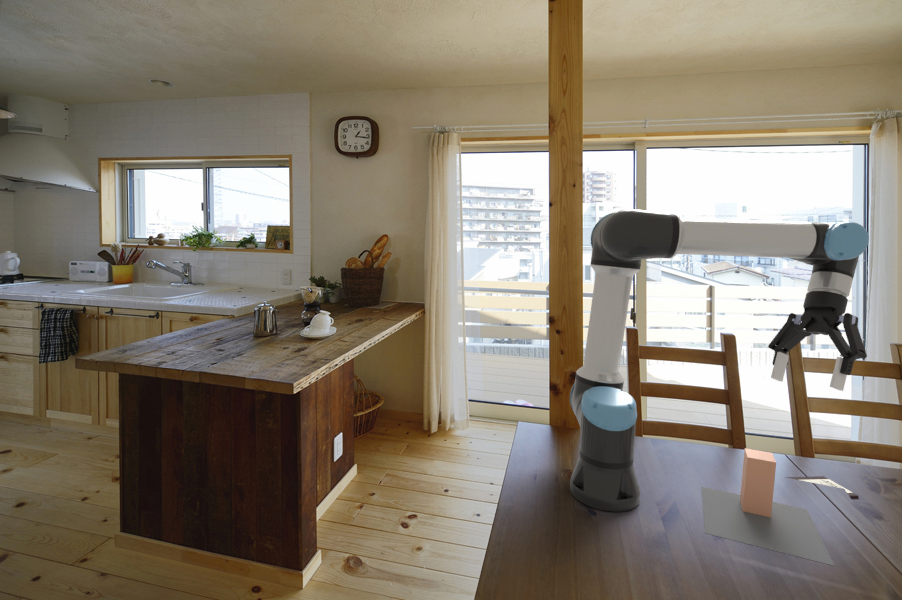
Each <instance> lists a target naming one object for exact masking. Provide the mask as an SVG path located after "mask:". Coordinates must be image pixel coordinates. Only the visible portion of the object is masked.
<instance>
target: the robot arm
mask: <svg viewBox="0 0 902 600" xmlns="http://www.w3.org/2000/svg"><path fill="white" fill-rule="evenodd" d="M590 234H591V235H590V245H591V249H592V250H591V257H590V267H591V268H592V269H593V271H594V272H595V276H594V281H593V282H594V283H593V291H592V299H591V304H590V305H591V307H590V314H589V320H588V321H589V322H588V328H587V336H586V343H585V351H584V357H583V358H584V359H583V364H582V366H580V367H579V368H578V369H577V370H576V371H575V377H574V378H575V380H574V384H573V385H572V387H571V390H570V394H569V403H570V407H571V409H572V411H573V414H574V415H575V418H576V419H577V422H578V425H579V427H580V431H579V432H580V435H579V436H580V437H579V455H578V459H577V461H576V464H575V466H574V469H573V472H572V474H571V475H570V480H569V481H570V482H569V490H570V493H571V494H572V497H574V498H575V499H576V500H577V501H579V502H581V503H582V504H584V505H586V506H588V507H591V508H593V509H596V510H600V511H604V512H605V511H606V512H613V513H614V512H617V513H618V512H627V511H631V510H633V509H634V508H636V507H637V506H638V505H639V504H640V499H641V498H640V497H641V490H640V486H639V481H638V477H637V475H636V472H635V468H634V458H635V444H636V442H635V441H636V425H637V419H638V411H637V403H636V400H635V399H634V397H633V396H632V395H631V394H629V393H628V392H626V391H624V383H625V378H624V377H623V376H622V374H621V373H620V364H621V357H622V352H623V351H622V350H623V345H624V337H625V331H626V324H627V316H628V310H629V309H628V308H629V304H630V303H629V302H630V295H631V289H632V288H631V287H632V282H633V277H634V276H635V275H636V274H638V273H639V272H640V271H641V266H642V260H649V259H650V260H651V259H673V258H674V257H675V256H676V255H695V256H697V255H698V256H723V257H724V256H725V257H726V256H727V257H754V258H756V257H757V258H781V259H783V258H784V259H786V258H787V259H791V260H794V261H797V262H801V263H804V264H806V265H809V266H812V271H811V275H810V278H809V282H808V286H807V289H806V290H807V293H806V294H805V297H804V302H803V305H802V306H803V310H804V311H803V313H802V315H801V314H795V313H793V312H791V313H790V314H789V315H788V317H787V320H786V322H785V323H784V324H783V325H782V326H781V328H780V330H779V331H778V333H776V335H775V336H774V338H773V339H772V340H771V341H770V343H768V346H767V348H768V349H771V351H774V355H773V360H772V365H773V368H772V371H771V372H772V373H771V375H770V378H771V379H773V380H775V381H778V382H783V381H784V377H785V373H786V369H787V365H788V361H789V358H790V355H788V353H789V352H790V351H791V350H792V349H794V347H796V346H797V345H798V344H799V343H800V342H802V341H803V340H804V339H806V337H810V336H812V335H814V336H815V335H823V336H829V339H830V340H831V341H832V343H833V345H834V346H835V347H836V349H837V350H838V353H840V354H839V356H837V357H836V359H835V363H834V368H833V372H832V376H831V380H830V383H829V387H830V388H832V389H834V390H837V391H841V392H844V389H845V384H846V382H847V381H846V380H847V377H848V376H850V375H851V374H852V370H853V367H854V364H855V363H854V362H855V361H857V360H860V359H861V360H865V359H867V357H868V354H867V352H866V351H867V350H866V349H865V346H864V343H863V340H862V337H861V333H860V330H859V327H858V326H859V317H858V316H855V315H854V314H851V313H848V312H846V309H847V307H848V302H849V299H848V298H847V297H849V296H850V292H851V288H852V285H853V280H854V276H855V274H856V273H855V272H856V270H857V266H858V262H859V259H860V258H859V257H860V256H861V255H862V254H864V252H865V251H866V250H867V248H868V246H869V240H870V238H869V237H870V235H869V233H868V231H867V229H866V228H865V227H864V226H863V225H862V224H859V223H858V222H854V221H842V220H841V221H837V222H820V221H819V222H818V221H811V222H810V221H809V222H808V221H788V220H787V221H785V220H757V219H755V220H753V219H750V220H749V219H721V218H720V219H719V218H718V219H717V218H688V217H687V218H685V217H680V216H679V214H678V213H677V212H660V211H650V210H643V209H634V208H625V209H622V210H618V211H617V212H616V211H615V212H610V213H608V214H607V215H604V216H602V217H601V218H600V219H599V220H598V221H597V223H595V225H594V226H593V228H592V231H591V233H590ZM845 312H846V313H845ZM840 325H842V326H843V329H844V333H845V337H846V339H847V341H846V340H845V338H844V336H843V332H842V331H841V330H840V329H839V326H840Z"/></svg>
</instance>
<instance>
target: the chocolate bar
mask: <svg viewBox="0 0 902 600" xmlns="http://www.w3.org/2000/svg"><path fill="white" fill-rule="evenodd" d="M784 478H786V479H792V480H797V481H803V482H807V483H812V484H818V485H821V486H828V487H834V488H838V489H843V490H844V491H845V492H846V493H847V495H848V496H849V498H850V499H859V495H858V494H857V493H855V492H854V491H853V492H852V491H851V490H849V489H847V488H845V487H844V486H842V485H840V484H838V483H837V482H835V481H833V480H832V479H830V478H829V477H826V476H824V475H823V476H789V477H788V476H787V477H786V476H785V477H784Z"/></svg>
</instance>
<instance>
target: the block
mask: <svg viewBox="0 0 902 600" xmlns="http://www.w3.org/2000/svg"><path fill="white" fill-rule="evenodd" d="M776 468H777V461H776V459H775V456H774V454H773V453H772V452H768V451H764V450H763V451H762V450H757V449H751V448H747V447H745V448H744V451H743V462H742V471H741V472H742V475H741V484H740V493H739V495H740V502H741V506H742V510H743V511H744V512H749V513H753V514H757V515H762V516H766V517H771V512H772V502H774V491H775V481H776V480H775V478H776V470H777V469H776Z"/></svg>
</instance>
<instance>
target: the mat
mask: <svg viewBox="0 0 902 600" xmlns="http://www.w3.org/2000/svg"><path fill="white" fill-rule="evenodd" d="M700 489H701V499H702V500H701V501H702V511H703V521H704V522H703V523H704V526H703V527H704V533H705V534H706V535H711V536H715V537H719V538H723V539H725V540H726V539H727V540H731V541H734V542H739V543H743V544H747V545H750V546H754V547H758V548H763V549H766V550H768V551H769V550H771V551H774V552H777V553H782V554H785V555H788V556H789V555H790V556H793V557H797V558H801V559H806V560H810V561H813V562H817V563H821V564H825V565H830V566H833V567H835V564H834V562H833V560H832V557H831V556H830V553H829V552H828V550H827V547H826V546H825V544H824V541H823V539H822V537H821V536H820V533H819V531H818V529H817V527H816V524H815V523H814V521H813V519H812V517H811V515H810V512H809V511H808V508H803V507H798V506H795V505H789V504H784V503H780V502H775V501H773V502H772V512H771V517H766V516H762V515H757V514H753V513H749V512H744V511H743V510H742V506H741V502H740V494H738V493H734V492H728V491H725V490H718V489H714V488H709V487H705V486H701V487H700Z"/></svg>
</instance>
